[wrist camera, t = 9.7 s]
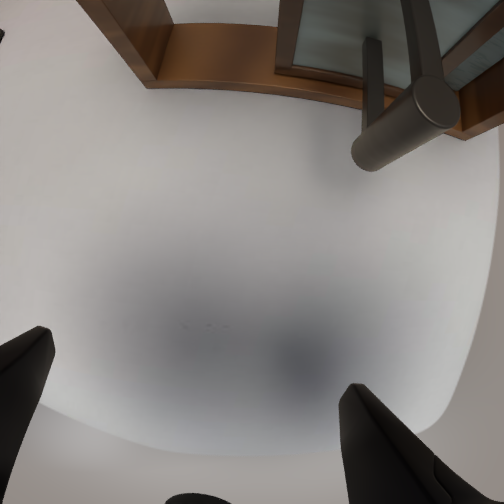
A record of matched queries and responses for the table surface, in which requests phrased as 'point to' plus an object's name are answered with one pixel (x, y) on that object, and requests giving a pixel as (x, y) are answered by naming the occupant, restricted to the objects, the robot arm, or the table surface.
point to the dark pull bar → (387, 61)
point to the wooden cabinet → (269, 62)
